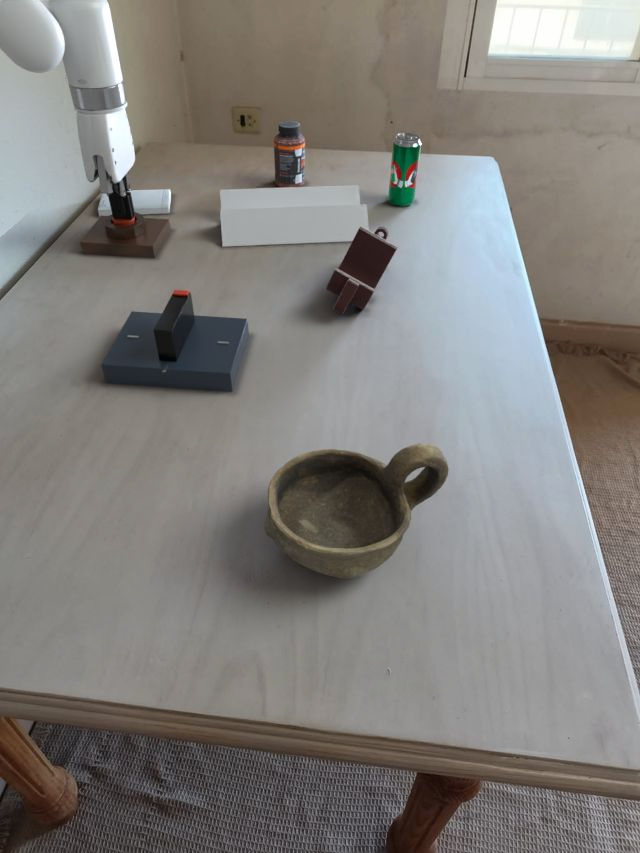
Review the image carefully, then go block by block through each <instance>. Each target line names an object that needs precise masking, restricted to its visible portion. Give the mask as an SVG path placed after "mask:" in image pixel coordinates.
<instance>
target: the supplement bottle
mask: <svg viewBox="0 0 640 853" xmlns="http://www.w3.org/2000/svg"><path fill="white" fill-rule="evenodd" d="M278 132H279V133H277V134H276V135H275V136H274V139H273V155H274V156H273V158H274V159H273V160H274V181H275V184H276V185H277V186H278V187H279V188H285V187H303V185H305V182H306V139H305V137H304V136H303V135H302V133H301V124H300V123H299V122H298V121H295V120H285V121H281V122H279V123H278Z"/></svg>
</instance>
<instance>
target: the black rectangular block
mask: <svg viewBox="0 0 640 853" xmlns="http://www.w3.org/2000/svg"><path fill="white" fill-rule="evenodd" d="M161 313H162V315H161V317H160V318H159V320H158V322H157V324H156V326H155V328H154V335H155V341H156V346H157V351H158V356H159V360H161V361H174V362H177V360H178V358H179V355H180V353H181V351H182V349H183V347H184V344H185V342H186V340H187V338H188V335H189V333H190V331H191V329H192V327H193V324H194V322H195V318H194V315H195V312H194V305H193V298H192V292H191V291H190V290H184V289H174V290H173V292H172V294H171V295H170V298H169V299H168V302H167V303H166V305H165V307H164V309H163V311H162V312H161Z"/></svg>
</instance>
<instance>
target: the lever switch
mask: <svg viewBox="0 0 640 853" xmlns="http://www.w3.org/2000/svg"><path fill="white" fill-rule="evenodd" d="M162 313H163V312H148V311H147V312H146V311H131V312H130V313H129V315H128V317H127V318H126V320H125V322H124V324H123V325H122V328H121V329H120V331H119V332H118V334H117V336H116V338H115V340H114V342H113V344H112V345H111V347H110V349H109V350H108V352H107V354H106V355H105V357H104V359H103V361H102V363H101V364H100V365H101V368H102V373H103V377H104V379H105V383H106V384H111V385H112V384H113V385H128V386H143V387H154V388H155V387H156V388H170V389H171V388H172V389H183V390H184V389H185V390H198V391H210V392H211V391H213V392H224V393H225V392H226V393H227V392H228V393H233V392H234V388H235V384H236V381H237V378H238V375H239V372H240V369H241V365H242V361H243V358H244V356H245V352H246V348H247V344H248V342H249V338H250V332H249V331H250V330H249V319H248V318H242V317H241V318H240V317H225V316H212V315H211V316H210V315H196V314H194V318H195V322H194V324H193V327H192V329H191V331H190V333H189V335H188V338H187V340H186V342H185V344H184V347H183V349H182V351H181V353H180V355H179V358H178V360H177V362H174V361H161V360H159V356H158V351H157V346H156V341H155V335H154V328H155V326H156V324H157V322H158V320H159V318H160V317H161V315H162Z"/></svg>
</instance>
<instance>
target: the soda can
mask: <svg viewBox="0 0 640 853" xmlns="http://www.w3.org/2000/svg"><path fill="white" fill-rule="evenodd" d="M421 150H422V142H421V136H420V135H419V134H417V133H413V132H400V133H397V134H396V135H395V138H394V139H393V141H392V147H391V158H390V161H391V162H390V170H389V182H388V192H387V200H388V202H389V203H390V204H391V205H392V206H395V207H400V208H404V207H405V208H406V207H409V206H411V205H413V203H414V202H415V201H416V200H415V199H416V191H417V184H418V183H417V182H418V175H419V168H420V167H419V166H420V160H421V159H420V158H421Z"/></svg>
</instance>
